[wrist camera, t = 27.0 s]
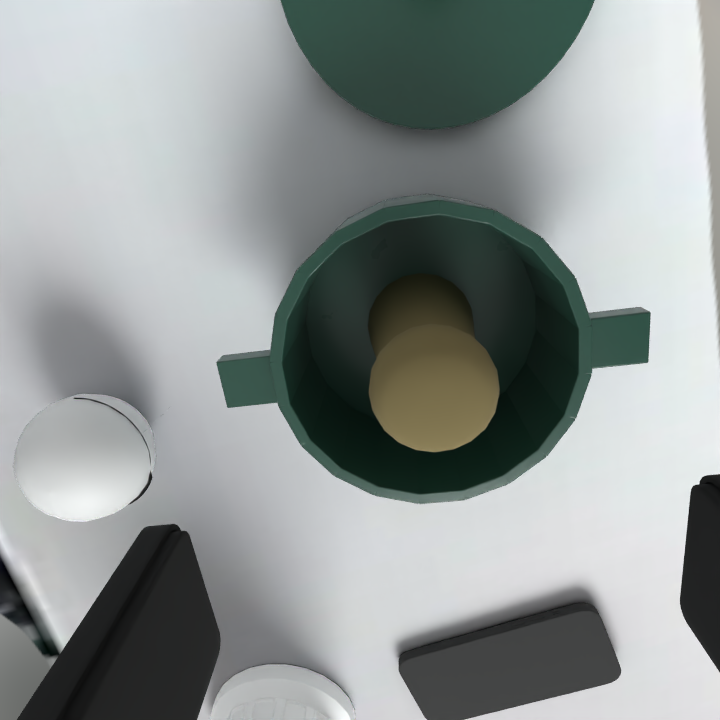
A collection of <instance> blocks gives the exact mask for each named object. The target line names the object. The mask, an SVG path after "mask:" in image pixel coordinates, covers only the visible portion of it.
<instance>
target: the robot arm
mask: <svg viewBox="0 0 720 720" xmlns="http://www.w3.org/2000/svg"><path fill="white" fill-rule="evenodd" d="M680 605H681V610H682V613H683V616H684V618H685V620H686V622H687V624H688V625H689V627H690V628H691V630H692V631H693V633H694V634H695V636H696V637H697V639H698V640H699V642H700V643H701V645H702V646H703V648H704V649H705V651H706V652H707V654H708V655H709V657H710V658H711V660H712V661H713V663H714V664H715V666H716V667H717V669H718V670H719V672H720V474H718V475H707V476H704V477H702V479H701V480H700V484H699V485H695V486H693V487H692V489H691V495H690V505H689V515H688V525H687V535H686V545H685V555H684V565H683V575H682V585H681V595H680ZM219 651H220V633H219V629H218V626H217V623H216V620H215V616H214V613H213V610H212V607H211V603H210V600H209V597H208V594H207V591H206V587H205V584H204V581H203V578H202V574H201V571H200V568H199V565H198V562H197V558H196V555H195V552H194V549H193V545H192V542H191V539H190V536H189V534H188V533H187V531H181V530H180V528H179V527H178V525H176V524H169V525H158V526H148V527H145V528H144V529H143V530H142V531H141V532H140V534H139V535H138V537H137V538H136V540H135V541H134V543H133V544H132V546H131V547H130V549H129V550H128V552H127V553H126V555H125V556H124V558H123V560H122V561H121V563H120V564H119V566H118V567H117V569H116V570H115V572H114V573H113V575H112V576H111V578H110V579H109V581H108V582H107V584H106V585H105V587H104V588H103V590H102V591H101V593H100V594H99V596H98V597H97V599H96V600H95V602H94V604H93V605H92V607H91V608H90V610H89V611H88V613H87V614H86V616H85V617H84V619H83V620H82V622H81V623H80V625H79V626H78V628H77V629H76V631H75V632H74V634H73V635H72V637H71V638H70V640H69V641H68V643H67V644H66V646H65V647H64V649H63V651H62V652H61V654H60V655H59V657H58V658H57V660H56V661H55V663H54V664H53V666H52V667H51V669H50V670H49V672H48V673H47V675H46V676H45V678H44V680H43V681H42V682H41V684H40V686H39V687H38V688H37V690H36V692H35V693H34V694H33V696H32V698H31V699H30V701H29V702H28V704H27V705H26V707H25V708H24V710H23V711H22V713H21V714H20V716H19V717H18V719H17V720H197V718H198V715H199V712H200V709H201V706H202V703H203V700H204V697H205V694H206V691H207V688H208V685H209V682H210V679H211V676H212V673H213V670H214V667H215V664H216V661H217V658H218V655H219Z"/></svg>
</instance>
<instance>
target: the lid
mask: <svg viewBox="0 0 720 720" xmlns="http://www.w3.org/2000/svg"><path fill="white" fill-rule="evenodd" d="M281 3H282V6H283V9H284V12H285V15H286V18H287V21H288V24H289V26H290V28H291V30H292V32H293V35H294V37H295V39H296V41H297V43H298V45H299V47H300V48H301V50H302V51H303V53H304V55H305V56H306V58H307V59H308V61H309V63H310V64H311V66H312V67H313V68H314V69H315V71H316V72H317V73H318V74H319V75H320V77H321V78H322V79H323V80H324V82H325V83H326V84H327V85H328V86H330V87H331V88H332V89H333V90H334V91H335V92H336V93H337V94H338V95H339V96H340V97H341V98H343V99H344V100H346V101H347V102H348V103H350V104H351V105H353V106H354V107H355V108H357V109H359V110H360V111H362V112H364V113H366V114H368V115H370V116H372V117H374V118H376V119H379V120H382V121H385V122H387V123H390V124H393V125H398V126H403V127H408V128H414V129H443V128H452V127H457V126H461V125H466V124H470V123H473V122H476V121H478V120H481V119H484V118H486V117H489V116H491V115H493V114H495V113H497V112H499V111H501V110H502V109H504V108H506V107H508V106H510V105H511V104H513V103H514V102H516V101H517V100H518V99H520V98H521V97H523V96H524V95H526V94H527V93H528V92H530V91H531V90H532V89H533V88H534V87H535V86H536V85H537V84H538V83H540V82H541V81H542V80H543V79H544V78H545V77H546V76H547V75H548V74H549V73H550V72H551V70H552V69H553V68H554V67H555V66H556V65H557V64H558V62H559V61H560V60H561V59H562V58H563V56H564V55H565V53H566V52H567V50H568V49H569V48H570V46H571V45H572V43H573V42H574V40H575V39H576V37H577V35H578V34H579V32H580V30H581V28H582V26H583V24H584V23H585V21H586V19H587V17H588V15H589V12H590V10H591V8H592V5H593V3H594V0H281Z"/></svg>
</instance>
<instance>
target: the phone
mask: <svg viewBox="0 0 720 720" xmlns="http://www.w3.org/2000/svg"><path fill="white" fill-rule="evenodd" d="M399 672H400V674H401V676H402V678H403V680H404V682H405V683H406V685H407V687H408V689H409V690H410V692H411V694H412V696H413V697H414V699H415V701H416V703H417V704H418V706H419V708H420V710H421V711H422V713H423V715H424V716H425V718H426V719H427V720H464V719H468V718H472V717H476V716H480V715H484V714H488V713H492V712H496V711H500V710H504V709H508V708H512V707H516V706H520V705H524V704H528V703H532V702H536V701H540V700H544V699H548V698H553V697H557V696H561V695H565V694H569V693H573V692H577V691H581V690H585V689H589V688H593V687H597V686H601V685H605V684H608V683H611V682H613V681H615V680H617V679H618V678H619V676H620V674H621V668H620V665H619V662H618V659H617V657H616V654H615V652H614V649H613V647H612V644H611V642H610V639H609V637H608V634H607V632H606V629H605V627H604V624H603V622H602V619H601V617H600V615H599V613H598V611H597V609H596V608H595V607H594V606H593V605H591V604H588V603H577V604H573V605H569V606H565V607H562V608H558V609H555V610H551V611H548V612H544V613H541V614H537V615H534V616H530V617H526V618H523V619H519V620H516V621H512V622H509V623H505V624H502V625H498V626H495V627H491V628H488V629H484V630H480V631H477V632H473V633H470V634H466V635H463V636H459V637H456V638H452V639H449V640H445V641H442V642H438V643H435V644H431V645H427V646H424V647H420V648H417V649H413V650H410V651H407V652H405V653H403V654H402V655H401V656H400V658H399Z"/></svg>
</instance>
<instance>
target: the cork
mask: <svg viewBox="0 0 720 720" xmlns="http://www.w3.org/2000/svg"><path fill="white" fill-rule="evenodd" d="M368 331H369V336H370V340H371V344H372V347H373V350H374V353H375V356H376V361H375V363H374V365H373V367H372V369H371V377H370V385H369V397H370V401H371V406H372V410H373V412H374V414H375V416H376V418H377V419H378V421H379V422H380V424H381V426H382V427H383V429H384V431H386V432H387V433H388V434H389V435H390V436H391V437H393V438H394V439H395V440H396V441H397V442H399V443H401V444H403V445H405V446H408V447H410V448H412V449H415V450H420V451H429V452H440V451H446V450H452V449H456V448H458V447H460V446H462V445H464V444H466V443H469V442H471V441H472V440H473V439H474V438H476V437H477V436H478V435H479V434H480V433H481V432H482V431H483V430H485V429H486V427H487V425H488V424H489V422H490V420H491V419H492V417H493V415H494V414H495V411H496V406H497V402H498V397H499V390H500V388H499V381H498V373H497V369H496V367H495V365H494V363H493V361H492V360H491V358H490V356H489V354H488V352H487V350H486V349H485V348H484V347H483V346H482V345H481V344H480V343H479V342H478V341H477V340H476V339H475V334H474V322H473V315H472V308H471V306H470V304H469V302H468V300H467V298H466V296H465V295H464V293H463V292H462V291H461V290H460V289H459V288H458V287H457V286H456V285H454V284H453V283H452V282H451V281H448V280H446V279H444V278H442V277H440V276H438V275H432V274H423V273H418V274H413V275H408V276H403V277H401V278H399V279H397V280H396V281H394V282H392V283H390V284H388V285H387V286H386V287H385V288H384V289H383V291H382V292H381V293H380V294H379V295H378V296H377V297H376V299H375V301H374V303H373V305H372V308H371V310H370V313H369V321H368Z"/></svg>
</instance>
